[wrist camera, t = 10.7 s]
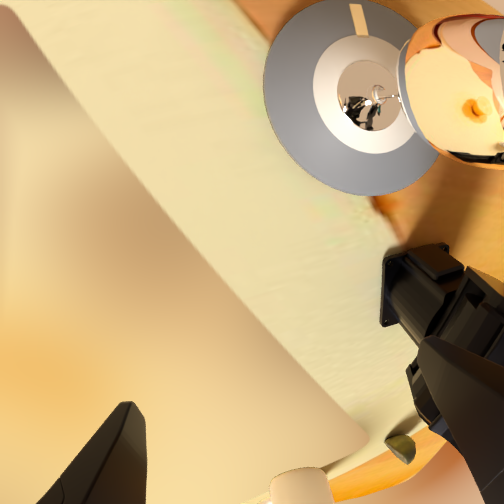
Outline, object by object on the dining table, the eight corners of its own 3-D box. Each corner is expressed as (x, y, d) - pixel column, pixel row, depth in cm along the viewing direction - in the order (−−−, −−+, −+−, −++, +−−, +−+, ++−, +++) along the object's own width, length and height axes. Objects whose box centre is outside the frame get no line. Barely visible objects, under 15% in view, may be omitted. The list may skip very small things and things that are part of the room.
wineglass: (411, 64, 15) (570, 52, 4) (404, 149, 17) (565, 200, 6) (328, 41, 14) (474, -35, 3) (321, 134, 16) (479, 167, 6)
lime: (394, 445, 35) (406, 470, 31) (372, 446, 34) (384, 474, 30) (414, 427, 34) (428, 452, 29) (393, 427, 33) (407, 455, 28)
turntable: (448, 182, 19) (455, 184, 19) (281, 208, 19) (284, 212, 18) (427, 13, 14) (434, 10, 13) (245, 3, 14) (247, -2, 13)
